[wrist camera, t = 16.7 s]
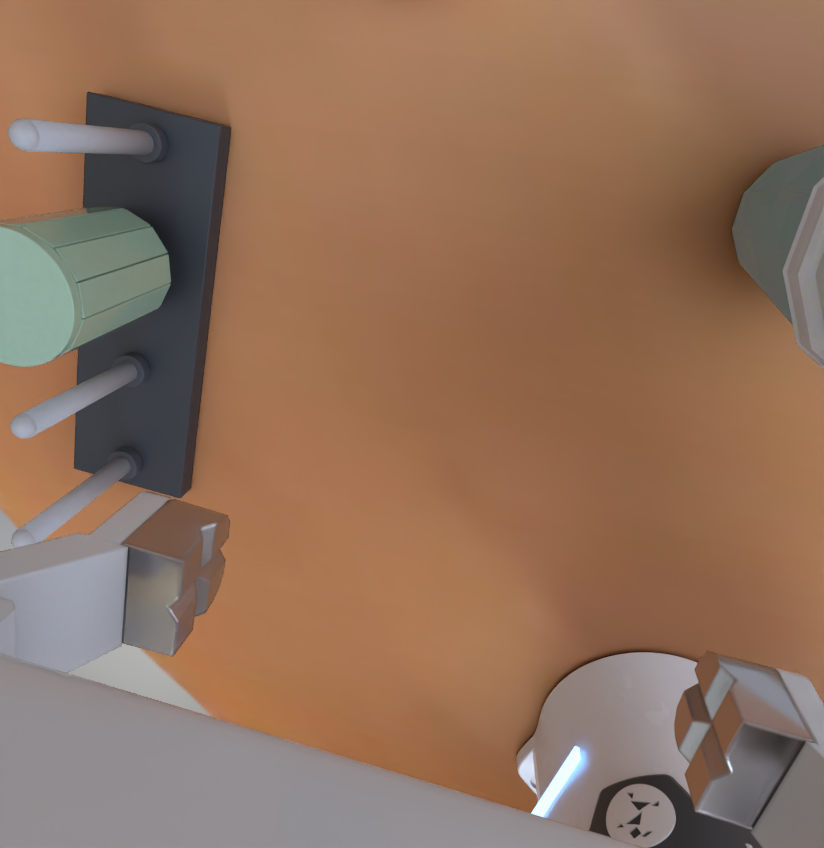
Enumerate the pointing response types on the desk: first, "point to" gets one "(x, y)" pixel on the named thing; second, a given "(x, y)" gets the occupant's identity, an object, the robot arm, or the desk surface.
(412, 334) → the desk surface
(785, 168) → the disposable coffee cup
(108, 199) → the dish rack
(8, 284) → the cup
